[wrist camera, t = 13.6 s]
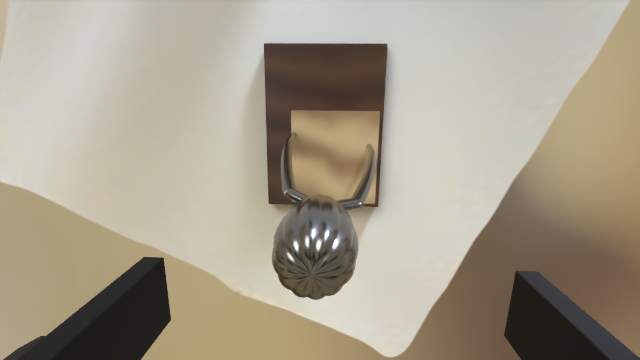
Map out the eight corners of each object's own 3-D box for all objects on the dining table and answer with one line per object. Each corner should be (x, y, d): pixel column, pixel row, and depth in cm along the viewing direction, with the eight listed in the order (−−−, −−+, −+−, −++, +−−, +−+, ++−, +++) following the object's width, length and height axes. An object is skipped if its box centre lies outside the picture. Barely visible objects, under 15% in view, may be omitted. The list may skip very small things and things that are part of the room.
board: (266, 45, 42) (263, 42, 41) (385, 45, 42) (387, 43, 40) (270, 200, 48) (268, 204, 46) (376, 203, 47) (378, 207, 45)
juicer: (320, 204, 46) (291, 384, 16) (291, 132, 43) (196, 193, 14) (384, 182, 44) (476, 333, 15) (357, 106, 42) (405, 113, 13)
